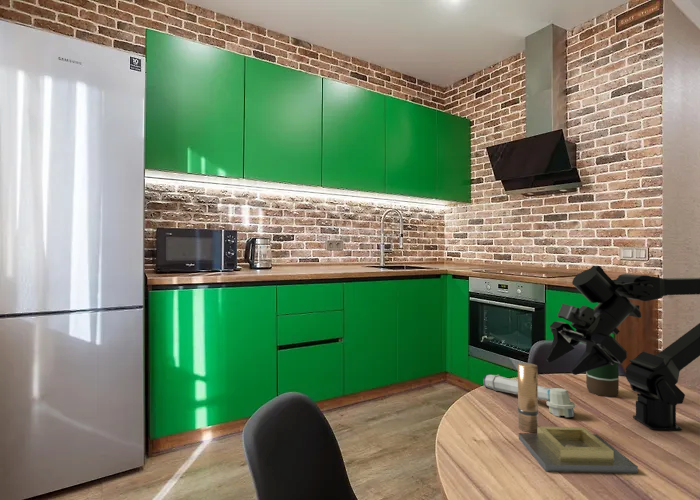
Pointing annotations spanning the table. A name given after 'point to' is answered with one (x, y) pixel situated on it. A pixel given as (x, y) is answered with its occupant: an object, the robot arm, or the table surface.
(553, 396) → the light grey long piece
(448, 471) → the table surface
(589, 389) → the beer bottle
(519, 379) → the tube
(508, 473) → the table surface
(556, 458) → the framed base plate
